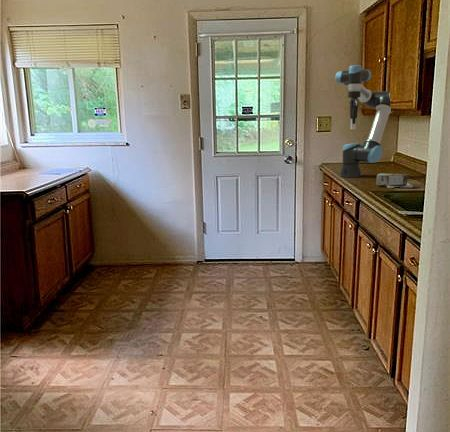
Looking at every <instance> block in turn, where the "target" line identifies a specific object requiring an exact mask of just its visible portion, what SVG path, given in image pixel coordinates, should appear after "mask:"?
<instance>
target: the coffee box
mask: <svg viewBox="0 0 450 432" xmlns="http://www.w3.org/2000/svg"><path fill="white" fill-rule="evenodd" d="M407 183H408V174H402V173H399V174H398V173H385V172H384V173H382V172H381V173H378V174H377V175H376V181H375V184H376V185H378V186H384V185H388V186H402V187H401V188H404V187H403V186H405V185H407Z"/></svg>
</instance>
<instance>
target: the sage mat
mask: <svg viewBox="0 0 450 432" xmlns="http://www.w3.org/2000/svg"><path fill="white" fill-rule="evenodd" d="M383 186H384V187H386V188H389V189H392V188H393V189H394V187H400V188H413V187H414V186H413V184H410V183H408V182H407V185H405V186H403V187H402V186H388V185H383Z"/></svg>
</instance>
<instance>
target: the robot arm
mask: <svg viewBox="0 0 450 432" xmlns="http://www.w3.org/2000/svg"><path fill="white" fill-rule="evenodd" d="M335 73H336V74H335V76H334V78H335V79H334V80H335V82H336V83H337V84H343V85H344V86H345V87H347V88H348V93H347V97H348V99H350V98H351V99H350V102H349V117H350V130H356V127H357V125H356V124H357V123H356V121H357V118H358V110H359V104H360V103H359V102H361V104H363V105H364V106H366V107H368V108H371V109H375V110H376V112H375V117H374V119H373V122H372V125H371V128H370V131H369V133H368V137H367V139H366V140H365V141H364V142H363V144H361V142H353V143H347V144H343V146H342V165H341V168H340V170H339V177H341V178H360V177H362V169H361V166H360V163H370V164H371V163H373V164H374V163H377V162H379V161H380V160H381V159H382V157H383V154H384V153H383V152H384V151H383V150H384V149H383V147H382V143H381V141H382V137H383V136H384V135H383V134H384V131H385V128H386V125H387V123H388V119H389V116H390V114H392V112H391V106H390V100H391V98H390V93H389V92H387V91H388V90H386V91H373V90H372V91H371V90H370V89H367V88H366V87H365V86H364V85H363V84H362V82H363V83H366V82H368V81H369V80H371V78H372V71H370V70H369V69H364V68H363V69H362V65H361V64H353V65H349V67H348V70H340V71H337V72H335ZM358 100H359V101H358Z"/></svg>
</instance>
